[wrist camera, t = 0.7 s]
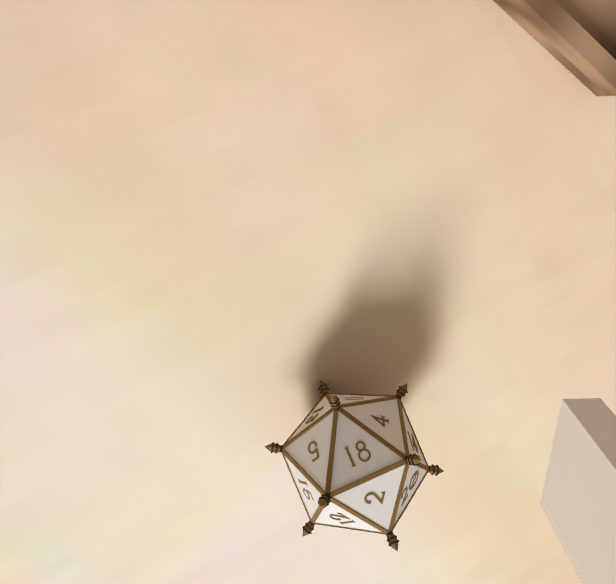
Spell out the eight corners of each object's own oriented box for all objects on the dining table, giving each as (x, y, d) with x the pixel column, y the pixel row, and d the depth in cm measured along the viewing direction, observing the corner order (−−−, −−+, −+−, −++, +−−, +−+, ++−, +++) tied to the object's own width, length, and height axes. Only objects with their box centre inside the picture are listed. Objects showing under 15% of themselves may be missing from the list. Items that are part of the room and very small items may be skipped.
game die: (329, 366, 37) (442, 342, 29) (379, 484, 37) (505, 492, 29) (217, 428, 32) (318, 419, 24) (275, 565, 32) (395, 603, 24)
